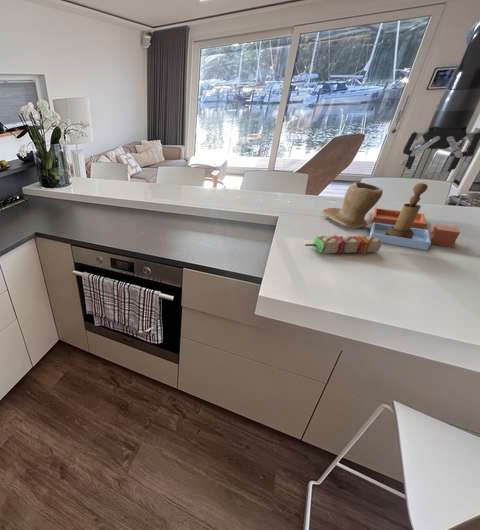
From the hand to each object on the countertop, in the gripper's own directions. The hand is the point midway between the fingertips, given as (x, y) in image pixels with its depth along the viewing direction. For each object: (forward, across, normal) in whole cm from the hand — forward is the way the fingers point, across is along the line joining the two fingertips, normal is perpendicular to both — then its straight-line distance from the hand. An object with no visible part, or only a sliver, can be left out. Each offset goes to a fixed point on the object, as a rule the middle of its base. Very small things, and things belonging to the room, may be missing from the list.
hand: (427, 169), depth 85 cm
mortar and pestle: (+22, 0, 0) cm, 22 cm away
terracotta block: (+23, +10, +3) cm, 25 cm away
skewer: (+23, -14, -19) cm, 33 cm away
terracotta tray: (+23, 0, +17) cm, 28 cm away
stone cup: (+23, -15, +9) cm, 28 cm away
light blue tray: (+23, 0, 0) cm, 23 cm away
